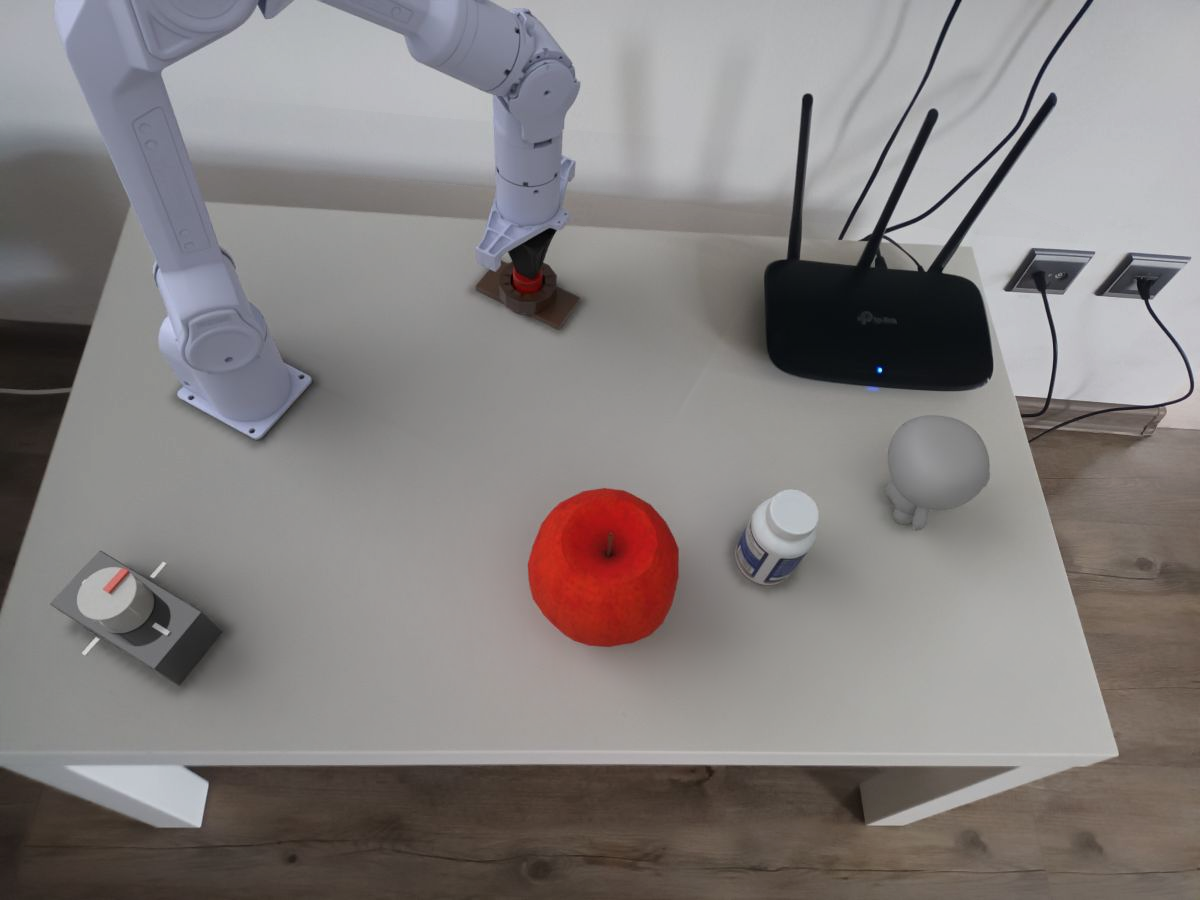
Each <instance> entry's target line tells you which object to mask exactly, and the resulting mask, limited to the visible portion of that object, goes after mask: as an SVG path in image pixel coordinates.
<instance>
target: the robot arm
mask: <svg viewBox="0 0 1200 900" xmlns="http://www.w3.org/2000/svg"><path fill="white" fill-rule="evenodd" d="M316 1H317V2H320V3H322V4H325V5H328V6H330V7H332V8H335V9H337V10H339V11H342V12H345V13H348V14H350V15H352V16H355V17H357V18H360V19H362V20H364V21H367V22H370V23H372V24H374V25H377V26H379V27H382V28H384V29H387V30H390V31H392V32H395V33H397V34H400V35H402V36H403V39H404V43H405V45H406V48H407V51H408V53H409V55H410V56H411V57H412V58H413V59H414V61H416V62H417V63H420V64H421V65H424V66H426V67H429V68H431V69H433V70H435V71H436V72H437V71H438V72H439V73H442V74H444V75H446V76H448V77H451V78H453V79H455V80H458V81H460V82H462V83H464V84H465V85H468V86H470V87H473V88H475V89H476V90H479V91H481V92H483V93H486V94H489V95H492V113H493V114H492V115H493V116H492V125H493V147H494V149H493V150H494V151H493V152H494V176H495V177H494V178H495V179H494V180H495V197H494V199H493V203H492V205H491V210H490V213H489V216H488V220H487V222H486V227H485V229H484V233H483V235H482V238H481V240H480V242H479V243H478V245H477V246H476V247H475V255H476V264H478V265H480V266H482V267H483V268H485V269H487V270H489V269H490V270H492V271H494V272H496V271H497V270H498V269H499V268H500V266H501V261H502V258H503V256H504V255H505V254H508V255H509V257H510V260H511V262H513V265H514V268H515V270H516V273H518V274H520V275H522V276H524V277H527V278H529V279H531V280H533V279H534V278H535V277H536V275H537V274H538V273H539V271H540V270H541V267H542V265H543V263H545V262H544V261H545V258H546V255H547V252H548V250H549V247H550V245H551V243H552V240H553V239H554V236H555V235H556V233H557V232H558V231H562V230H563V229H564V228H565V227H566V226H567V224H568V223H569V222H570V220H571V218H570V217H571V215H570V211H568V210H566V209H564V208H563V206H564V201H565V198H566V193H567V189H568V183H570V182H572V181H573V179H575V177H576V162H577V161H576V160H574V159H572V158H570V157H568V156H565V155H563V136H564V130H565V119H566V115H567V113H568V112H569V110H570V109H571V107H572V106H573V105H574V103H575V101H576V99H577V97H578V95H579V92H580V90H581V89H580V88H581V81H580V80H578V79H577V77H576V69H575V66H574V65H573V61H572V60H571V59H570V57H569V56H568V55H567V54H566V52H565V51H564V49H562V47H561V46H560V45H559V43H558V42H557V40H556V39H555V38H554V37H553V36H552V34H551V32H550V31H549V30H548V29H547V28H546V26H545V25H544V24H543V23H542V22H541V20H540V19H538V18H537V17H536V16H535V15H533V14H532V11H531V10H530V9H529V8H526V7H525V8H523V7H516V8H510V9H506V8H504V7H503V6H500V5H499V4H498V3H495V2H494V1H491V0H316ZM293 2H295V0H55V2H54V9H53V17H54V21H55V26H56V29H57V32H58V35H59V38H60V41H61V44H62V47H63V50H64V53H65V56H66V59H67V60H68V63H69V65H70V68H71V69H72V72H73V74H74V76H75V78H76V81H77V83H78V85H79V88H80V91H81V92H82V95H83V97H84V99H85V102H86V104H87V106H88V108H89V112H90V114H91V115H92V118H93V120H94V122H95V124H96V127H97V130H98V132H99V134H100V136H101V138H102V140H103V143H104V145H105V147H106V149H107V150H106V151H107V152H108V154H109V156H110V157H109V158H110V159H111V161H112V163H113V164H112V165H113V166H114V169H115V170H116V172H117V175H118V177H119V180H120V182H121V184H122V186H123V189H124V191H125V193H126V195H127V198H128V201H129V203H130V204H131V207H132V210H133V212H134V214H135V216H136V218H137V221H138V223H139V225H140V228H141V230H142V232H143V234H144V237H145V239H146V241H147V244H148V246H149V248H150V251H151V253H152V255H153V257H154V263H153V265H152V278H153V282H154V285H155V286H156V287H157V288H158V291H159V293H160V297H161V299H162V301H163V304H164V307H165V310H166V312H167V316H166V317H165V318H164V319H163V321H162V323H161V325H160V328H159V331H158V338H157V339H158V340H157V343H158V349H159V351H160V353H161V355H162V356H163V358H164V359H165V361H166V363H167V364H168V365H169V367H170V368H171V370H172V371H173V373H174V374H175V376H176V378H177V380H178V381H179V383H180V384H181V386H182V387H181V388H180V389H179V390H178V391H177V393H176V395H177V398H178V399H180V400H181V401H183V402H185V403H187V404H189V405H190V406H192V407H194V408H196V409H198V411H199V410H200V411H201V412H203V413H204V414H206V415H208V416H210V417H212V418H214V419H216V420H218V421H220V422H221V423H223V424H225V425H227V426H229V427H230V428H232V429H233V430H236V431H238V432H240V434H243V435H245V436H247V437H249V438H250V439H252V440H255V441H259V440H261V439H263V437H264V436H265V435H266V434H267V433H268V432H269V431H270V430H271V428H272V427H273V426H274V425H275V424H276V423H277V422H278V421H279V420H280V418H282V416H283V415H284V414H285V413H286V411H287V410H288V409H289V408H290V407H291V406H292V405H293V404H294V403H295V401H297V400H298V398H299V397H300V396H301V395H302V394H303V393H304V392H305V391H306V389H307V388H308V387H309V386H310V385H311V384H312V382H313V380H312V377H311V376H310V375H309V374H307V373H305V372H303V371H301V370H300V369H298V368H295V367H293V366H292V365H290V364H288V363H286V362H284V360H283V358H282V356H281V354H280V351H279V349H278V347H277V344H276V342H275V339H274V337H273V335H272V333H271V331H270V328H269V326H268V324H267V321H266V319H265V317H264V315H263V313H262V312H261V310H260V309H259V308H258V307H257V306H255V304H253V303H252V302H250V301H249V300H248V298H247V295H246V293H245V290H244V288H243V285H242V283H241V280H240V278H239V276H238V273H237V271H236V269H237V267H236V266H237V265H236V264H235V260H234V258H233V256H231V254H230V252H228V250H227V249H225V248H224V247H222V246H221V245H220V244H219V242H218V238H217V235H216V232H215V229H214V226H213V223H212V221H211V218H210V214H209V212H208V208H207V206H206V202H205V200H204V197H203V194H202V191H201V187H200V185H199V181H198V179H197V176H196V173H195V170H194V168H193V164H192V162H191V158H190V156H189V153H188V150H187V147H186V144H185V141H184V138H183V135H182V132H181V129H180V125H179V124H178V120H177V117H176V114H175V111H174V108H173V105H172V102H171V99H170V97H169V93H168V90H167V88H166V85H165V82H164V79H163V74H162V72H163V70H165V69H166V68H168V67H170V66H172V65H174V64H176V63H177V62H179V61H181V60H183V59H185V58H187V57H189V56H190V55H192V54H194V53H196V52H198V51H200V50H201V49H203V48H205V47H207V46H209V45H211V44H213V43H215V42H217V41H218V40H220V39H222V38H224V37H226V36H228V35H229V34H231V33H233V32H234V31H236V30H238V29H239V28H240V27H241V26H242V25H244V24H245V23H246V22H247V21H248V20H249V19H250V18H251V17H252V15H253V13H255V11H256V8H257V7H258V9H259V10H260V12H261V14H262V16H263V18H264V19H265V20H271V19H274V18H275V17H276V16H278V15H279V14H281V12H282V11H284V10H285V9H286V8H287V7H288V6H289V5H291V4H292V3H293Z"/></svg>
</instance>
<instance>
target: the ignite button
mask: <svg viewBox="0 0 1200 900" xmlns="http://www.w3.org/2000/svg"><path fill="white" fill-rule="evenodd" d="M542 282H543V271H542V268H541V270H540V271H539V273H538V274H537V275H536V277H535V278H534V279H533V280H531V279H529V278H527V277H524V276H522V275H520V274H518V273H516V270H515V268H514V269H513V286H514V288H515V289H516V290H517V291H519V292H521V293H523V294H533V293H535V292H538V291H539V290H540V289H541V287H542Z"/></svg>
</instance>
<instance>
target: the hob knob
mask: <svg viewBox="0 0 1200 900" xmlns="http://www.w3.org/2000/svg"><path fill="white" fill-rule="evenodd" d="M77 605H78V608H79V610H80V612H81V613H82V614H83V615H84V616H85V617H87V618H88V619H90V620H91V621H93V622H94V623H96V624H97V625H99V626H100V627H102V628H103V629H105V630H106V631H108V632H111V633H126V632H130V631H132V630H134V629H136V628H138V627H139V626H141V625H142V624H143V623H144V622H145V621H146V620H147V619H148V618H149V616H150V614H151V612H152V610H153V607H154V596H153V594H152V591H151V590H150V589H149V588H148V587H147V586H146V585H145V584H144V583H143V582H141V581H140V580H139V579H138V578H137V577H136V576H134V575H133V574H132V573H131V572H130V571H128V570H126V569H125V568H123V567H122V568H120V567H108V568H104V569H101V570H99V571H97V572H95V573H93V574H92V575H91V576H89V577H88V578H87V579H86V580H85V581H84V583H83V584H82V585H81V587H80V589H79V591H78V595H77Z"/></svg>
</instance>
